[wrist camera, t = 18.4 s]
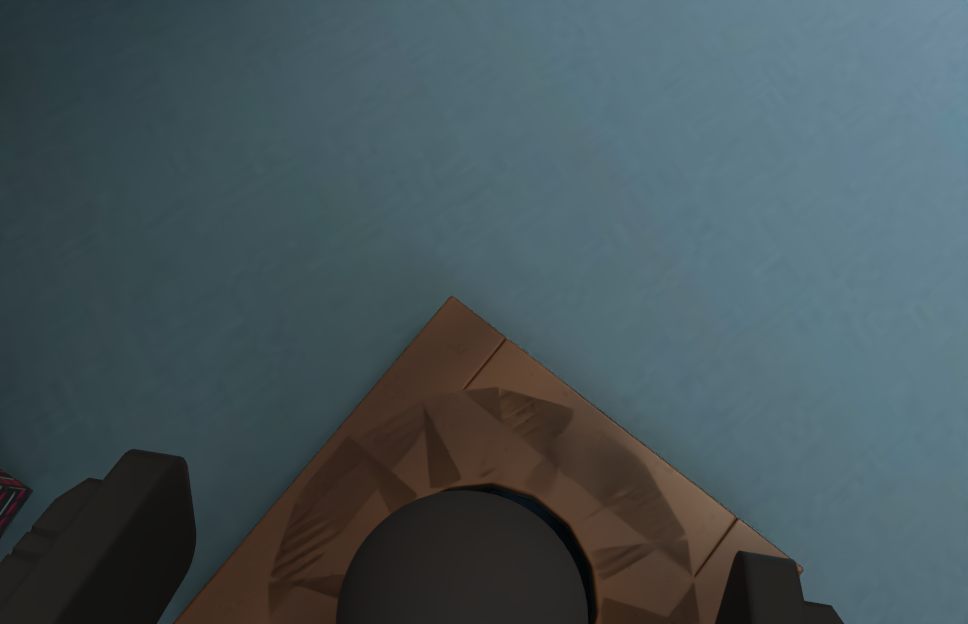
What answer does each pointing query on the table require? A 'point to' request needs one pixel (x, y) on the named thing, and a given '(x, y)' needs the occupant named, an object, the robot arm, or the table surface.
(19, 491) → the box
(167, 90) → the table surface
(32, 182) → the table surface
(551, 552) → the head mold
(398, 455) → the display base
